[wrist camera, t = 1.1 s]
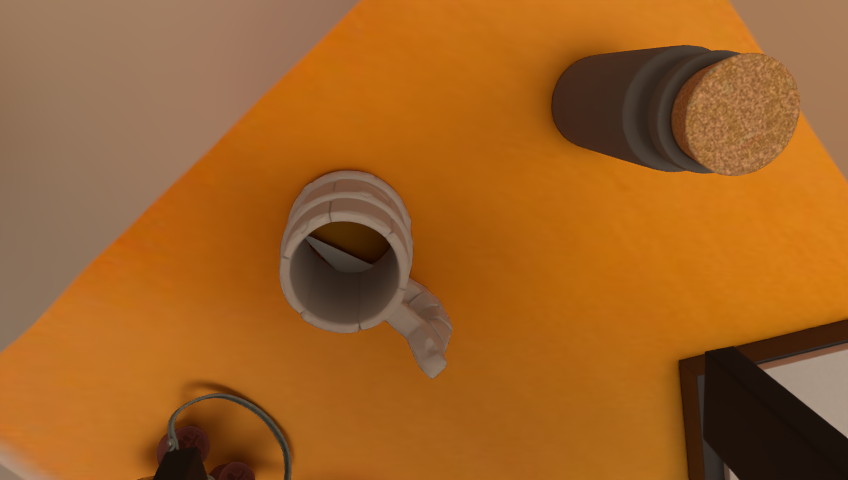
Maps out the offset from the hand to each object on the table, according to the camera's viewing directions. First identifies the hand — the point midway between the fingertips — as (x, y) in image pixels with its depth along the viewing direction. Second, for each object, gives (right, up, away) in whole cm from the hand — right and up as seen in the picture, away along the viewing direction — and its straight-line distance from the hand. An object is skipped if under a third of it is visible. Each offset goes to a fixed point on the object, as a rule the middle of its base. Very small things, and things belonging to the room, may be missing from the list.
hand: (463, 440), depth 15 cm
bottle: (+10, +14, +22) cm, 28 cm away
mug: (-4, +5, +23) cm, 24 cm away
